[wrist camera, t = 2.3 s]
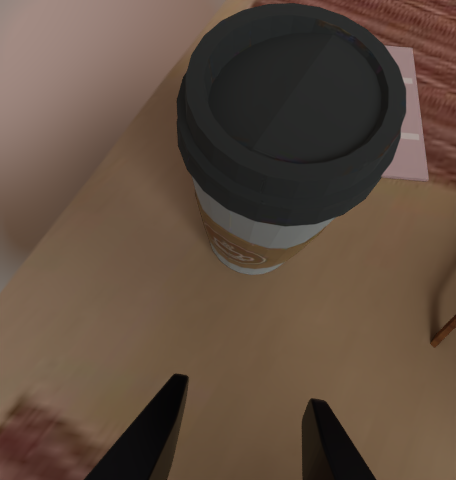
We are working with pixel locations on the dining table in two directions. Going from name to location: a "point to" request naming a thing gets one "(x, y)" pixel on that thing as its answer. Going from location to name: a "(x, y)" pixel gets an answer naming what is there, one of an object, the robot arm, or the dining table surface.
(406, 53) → the pink napkin
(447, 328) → the glasses
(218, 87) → the coffee cup
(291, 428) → the dining table surface
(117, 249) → the dining table surface
